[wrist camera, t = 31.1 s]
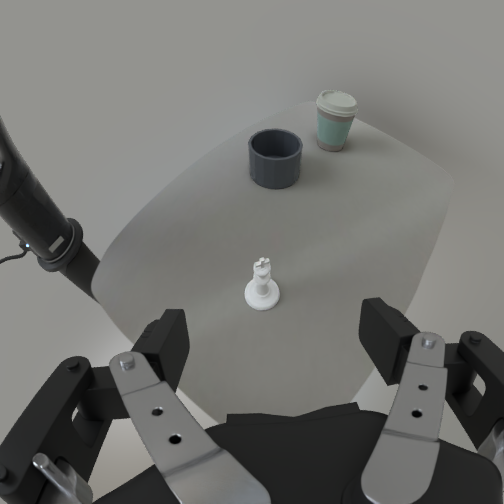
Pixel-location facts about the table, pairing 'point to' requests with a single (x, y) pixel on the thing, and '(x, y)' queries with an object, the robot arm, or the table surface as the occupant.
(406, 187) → the table surface
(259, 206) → the table surface
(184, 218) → the table surface
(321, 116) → the coffee cup
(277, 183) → the tumbler
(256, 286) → the chess piece
